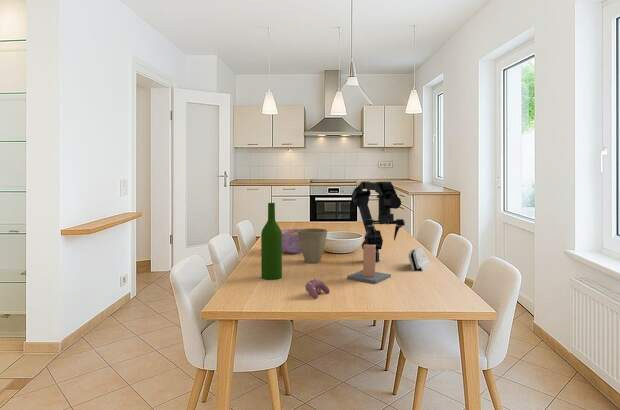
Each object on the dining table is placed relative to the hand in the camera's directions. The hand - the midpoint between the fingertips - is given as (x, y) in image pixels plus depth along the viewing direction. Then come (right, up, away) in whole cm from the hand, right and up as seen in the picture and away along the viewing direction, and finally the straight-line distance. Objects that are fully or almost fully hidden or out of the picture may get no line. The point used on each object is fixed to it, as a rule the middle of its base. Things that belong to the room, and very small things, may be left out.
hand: (384, 240), depth 229 cm
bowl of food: (-45, -10, +36) cm, 58 cm away
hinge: (+17, -13, +1) cm, 21 cm away
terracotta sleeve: (-10, -14, -21) cm, 27 cm away
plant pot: (-35, -12, +12) cm, 38 cm away
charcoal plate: (-10, -15, -21) cm, 28 cm away
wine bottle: (-52, -15, -21) cm, 58 cm away
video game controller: (-33, -18, -47) cm, 60 cm away
